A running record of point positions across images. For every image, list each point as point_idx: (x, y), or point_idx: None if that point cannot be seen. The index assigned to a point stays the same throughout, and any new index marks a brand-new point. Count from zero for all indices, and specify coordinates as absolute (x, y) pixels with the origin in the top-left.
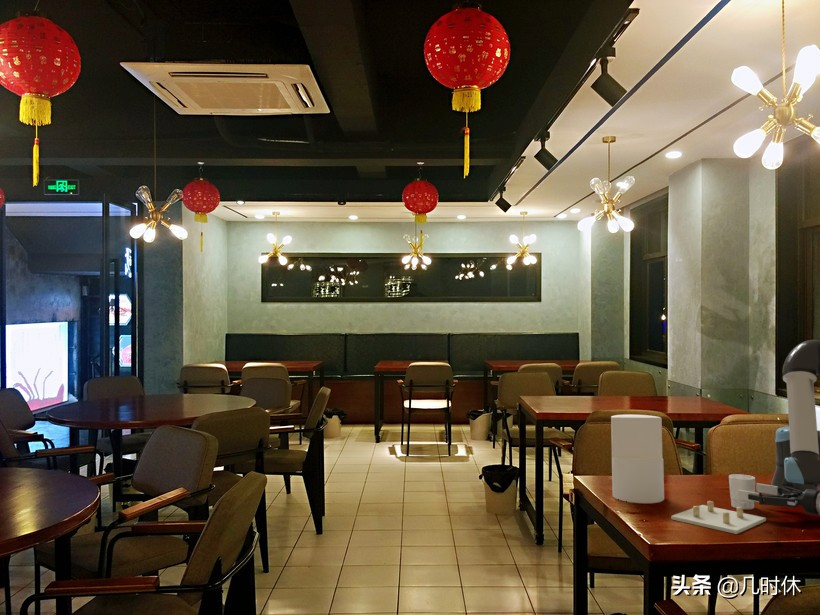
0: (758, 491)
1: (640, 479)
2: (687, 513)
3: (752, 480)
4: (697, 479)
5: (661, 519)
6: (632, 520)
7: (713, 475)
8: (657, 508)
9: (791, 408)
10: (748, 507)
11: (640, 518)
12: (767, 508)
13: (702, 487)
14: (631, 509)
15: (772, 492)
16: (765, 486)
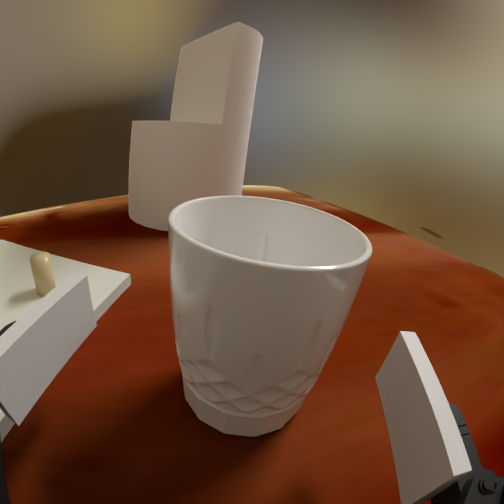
0: (380, 384)
1: (130, 161)
2: (19, 255)
3: (226, 271)
4: (436, 258)
5: (4, 239)
6: (4, 220)
7: (482, 270)
8: (90, 230)
9: None
10: (196, 411)
11: (14, 223)
12: (316, 491)
13: (394, 268)
14: (73, 213)
15: (406, 467)
16: (416, 393)
